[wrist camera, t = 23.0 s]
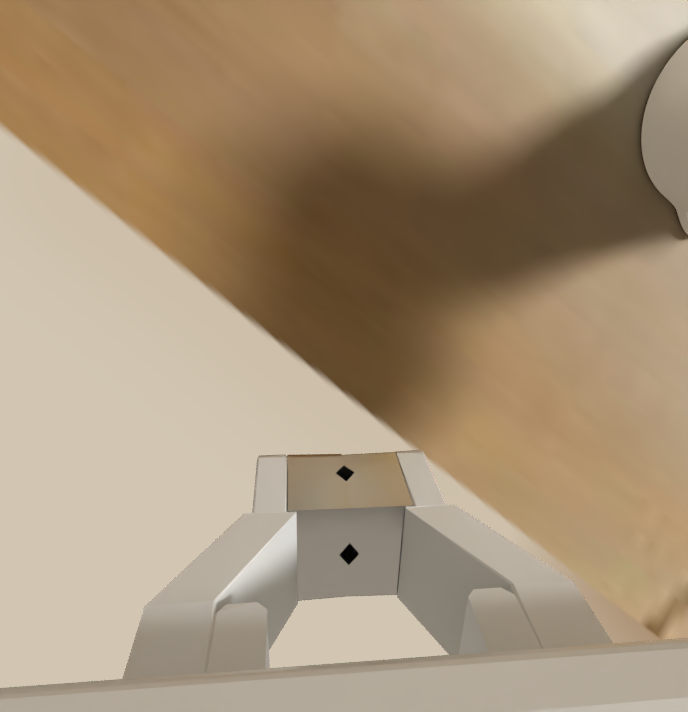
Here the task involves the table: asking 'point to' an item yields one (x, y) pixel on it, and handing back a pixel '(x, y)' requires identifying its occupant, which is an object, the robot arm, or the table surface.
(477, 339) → the table surface
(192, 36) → the table surface
